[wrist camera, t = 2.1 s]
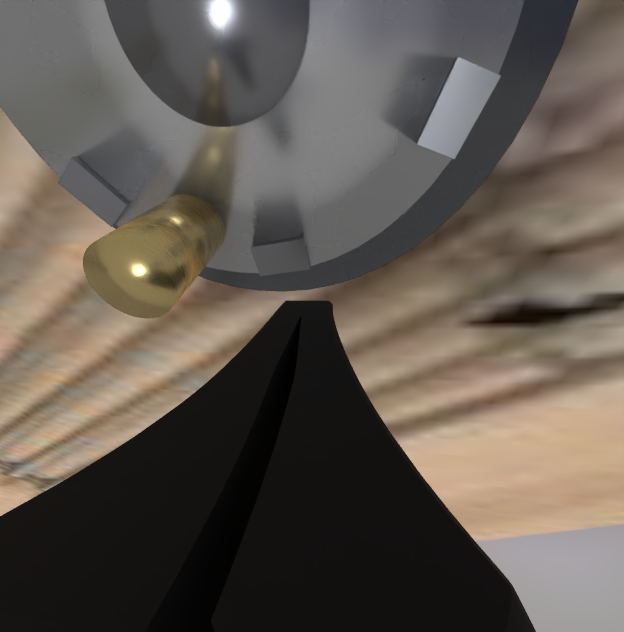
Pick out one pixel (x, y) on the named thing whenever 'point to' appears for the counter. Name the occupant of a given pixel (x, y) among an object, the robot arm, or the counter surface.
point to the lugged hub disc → (243, 123)
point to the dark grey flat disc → (462, 172)
